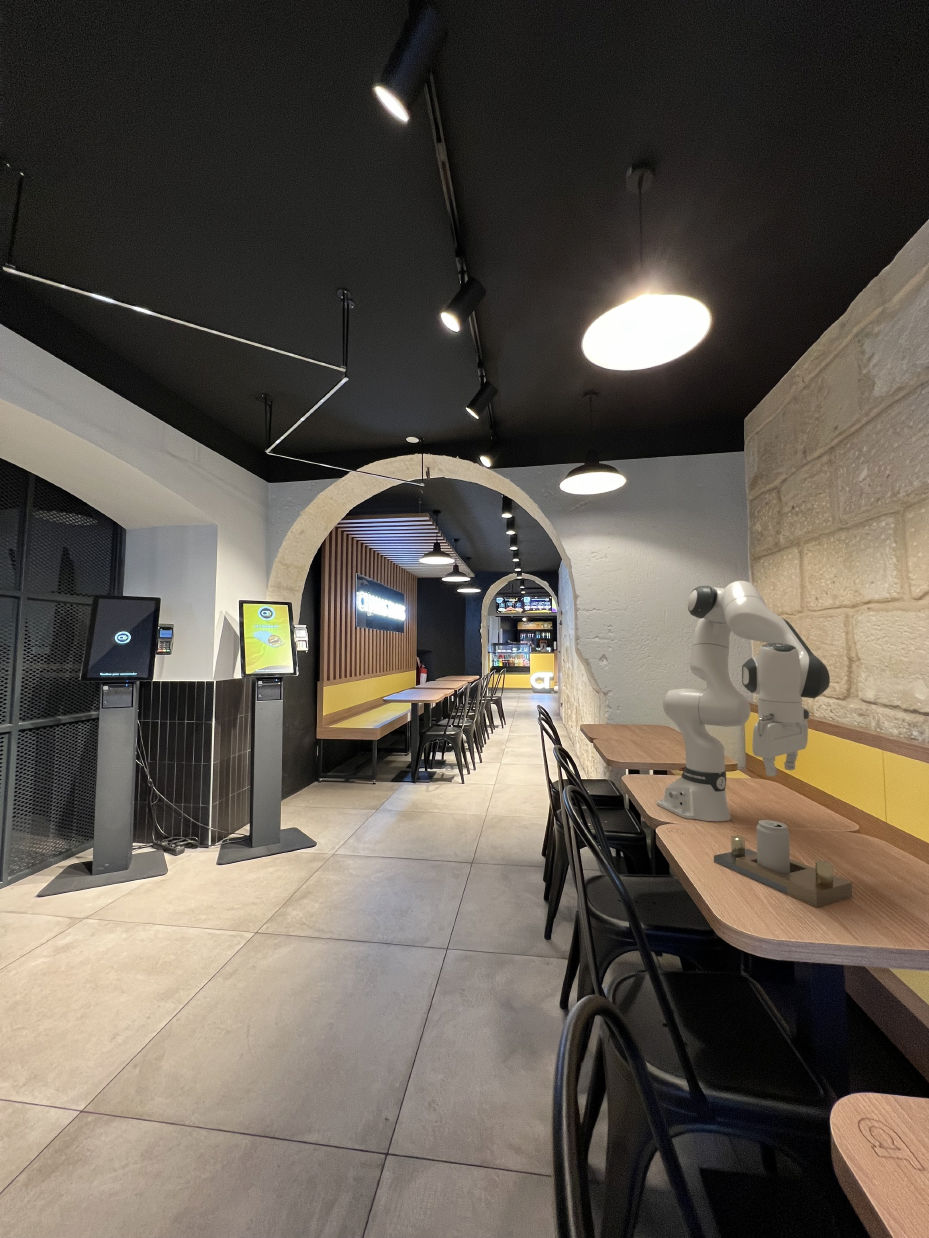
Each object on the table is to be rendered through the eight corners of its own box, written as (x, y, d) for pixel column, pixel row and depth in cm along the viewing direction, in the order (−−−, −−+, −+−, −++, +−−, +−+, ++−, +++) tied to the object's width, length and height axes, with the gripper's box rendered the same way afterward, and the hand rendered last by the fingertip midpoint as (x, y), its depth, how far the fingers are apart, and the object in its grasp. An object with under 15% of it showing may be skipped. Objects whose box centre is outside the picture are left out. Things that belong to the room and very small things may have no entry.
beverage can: (782, 886, 112) (781, 830, 113) (751, 875, 117) (751, 821, 118) (795, 879, 116) (794, 825, 116) (765, 869, 121) (764, 817, 122)
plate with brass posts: (713, 861, 125) (713, 832, 125) (747, 854, 130) (747, 826, 130) (816, 907, 103) (816, 871, 103) (852, 896, 108) (851, 862, 108)
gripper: (773, 717, 112) (774, 782, 111) (813, 711, 124) (814, 769, 123) (744, 714, 117) (744, 775, 116) (784, 708, 129) (785, 764, 128)
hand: (780, 772), depth 120 cm, fingers open, 8 cm apart
